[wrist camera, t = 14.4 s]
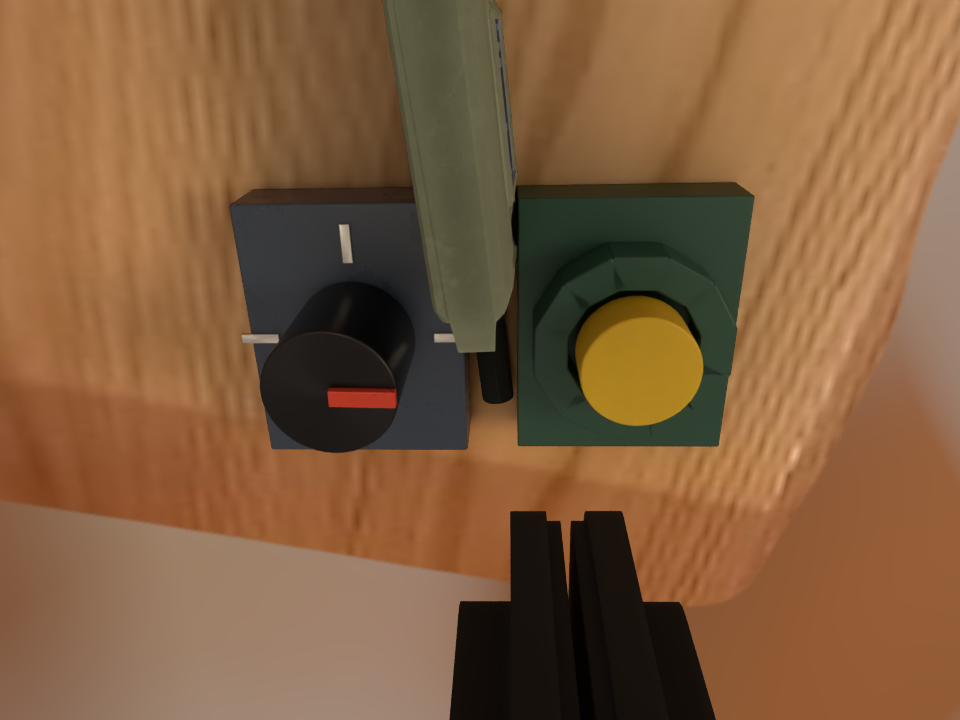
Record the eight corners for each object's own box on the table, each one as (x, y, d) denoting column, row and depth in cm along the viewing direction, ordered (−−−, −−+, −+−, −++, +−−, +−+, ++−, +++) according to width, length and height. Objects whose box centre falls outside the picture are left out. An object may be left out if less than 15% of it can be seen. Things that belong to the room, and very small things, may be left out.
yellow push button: (576, 295, 24) (582, 317, 22) (695, 294, 24) (710, 317, 22) (572, 397, 26) (577, 426, 24) (683, 397, 26) (696, 426, 24)
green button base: (517, 185, 26) (518, 211, 23) (736, 182, 26) (773, 208, 22) (517, 419, 31) (518, 472, 27) (705, 419, 30) (731, 473, 27)
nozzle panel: (244, 189, 27) (217, 205, 24) (471, 185, 26) (467, 202, 24) (281, 418, 31) (262, 452, 29) (477, 418, 31) (475, 452, 28)
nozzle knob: (304, 388, 27) (265, 457, 23) (291, 280, 25) (246, 333, 21) (417, 390, 27) (399, 460, 23) (413, 282, 25) (393, 336, 21)
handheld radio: (461, -419, 20) (540, 381, 30) (346, -394, 20) (464, 387, 31) (427, -612, 14) (540, 471, 24) (263, -570, 14) (445, 477, 25)
